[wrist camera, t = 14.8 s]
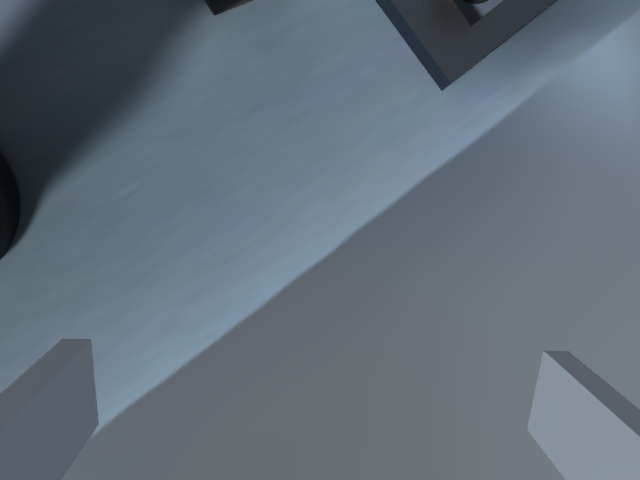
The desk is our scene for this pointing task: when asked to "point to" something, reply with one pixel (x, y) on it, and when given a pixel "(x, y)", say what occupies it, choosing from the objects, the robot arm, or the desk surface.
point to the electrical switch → (223, 5)
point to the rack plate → (456, 32)
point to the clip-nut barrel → (476, 1)
